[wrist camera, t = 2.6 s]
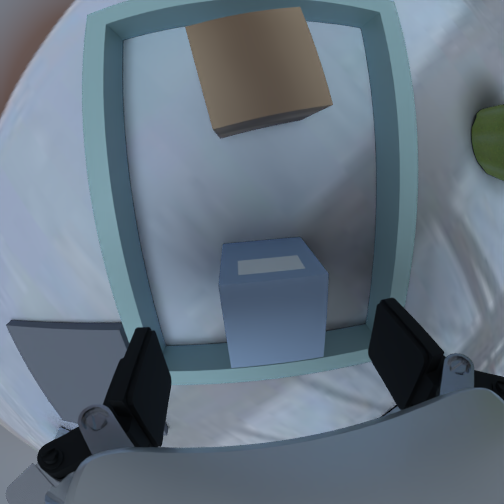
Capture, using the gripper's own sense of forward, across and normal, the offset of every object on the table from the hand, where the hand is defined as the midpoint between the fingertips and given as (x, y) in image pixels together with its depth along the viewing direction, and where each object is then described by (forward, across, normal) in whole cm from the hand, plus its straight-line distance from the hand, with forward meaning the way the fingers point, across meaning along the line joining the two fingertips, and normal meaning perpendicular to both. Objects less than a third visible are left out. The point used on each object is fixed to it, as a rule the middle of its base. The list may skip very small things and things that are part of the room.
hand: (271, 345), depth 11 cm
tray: (+8, -1, -5) cm, 10 cm away
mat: (+8, +17, +11) cm, 22 cm away
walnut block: (+9, -1, -11) cm, 14 cm away
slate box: (+8, -1, +1) cm, 8 cm away
